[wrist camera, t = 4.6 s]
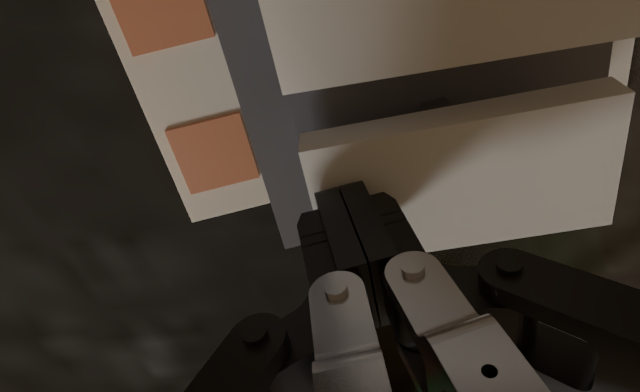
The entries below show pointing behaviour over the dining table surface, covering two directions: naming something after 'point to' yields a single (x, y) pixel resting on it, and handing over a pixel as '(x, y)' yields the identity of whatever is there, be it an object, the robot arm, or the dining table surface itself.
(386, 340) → the dining table surface
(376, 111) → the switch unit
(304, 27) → the rocker middle
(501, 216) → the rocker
